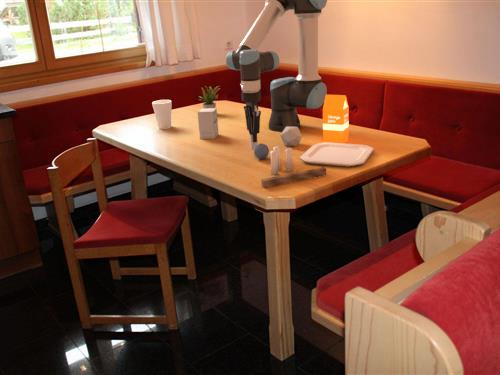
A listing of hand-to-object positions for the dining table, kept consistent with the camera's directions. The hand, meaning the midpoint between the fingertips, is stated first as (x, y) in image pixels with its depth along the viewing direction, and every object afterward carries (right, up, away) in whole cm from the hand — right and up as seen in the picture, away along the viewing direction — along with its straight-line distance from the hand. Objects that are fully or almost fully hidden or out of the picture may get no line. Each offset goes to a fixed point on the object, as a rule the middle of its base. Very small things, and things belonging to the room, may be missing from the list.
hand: (254, 149), depth 212 cm
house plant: (-22, +24, +71) cm, 78 cm away
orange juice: (+35, +4, +11) cm, 37 cm away
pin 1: (+7, -11, -22) cm, 25 cm away
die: (+16, +2, +10) cm, 19 cm away
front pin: (+9, -9, -17) cm, 21 cm away
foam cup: (-45, +15, +52) cm, 70 cm away
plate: (+32, -4, -8) cm, 34 cm away
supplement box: (-20, +8, +31) cm, 38 cm away
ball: (+3, -1, -5) cm, 6 cm away
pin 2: (+13, -9, -20) cm, 26 cm away
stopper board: (+14, -13, -30) cm, 35 cm away
